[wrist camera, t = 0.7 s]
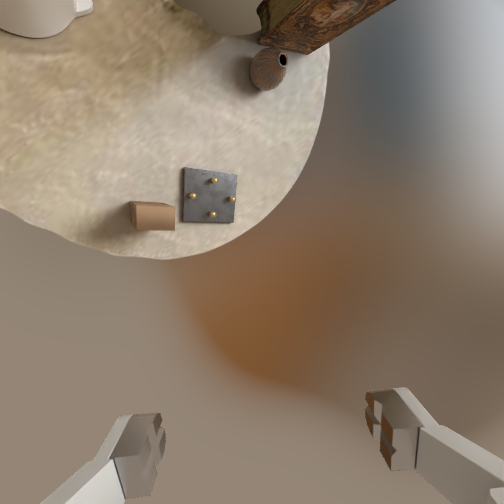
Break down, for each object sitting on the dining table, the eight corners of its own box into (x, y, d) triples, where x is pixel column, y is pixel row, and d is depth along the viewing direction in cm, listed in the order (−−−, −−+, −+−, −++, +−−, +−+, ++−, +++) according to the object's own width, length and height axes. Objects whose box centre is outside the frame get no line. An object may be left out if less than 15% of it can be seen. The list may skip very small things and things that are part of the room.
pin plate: (183, 167, 49) (188, 166, 46) (235, 175, 55) (241, 174, 53) (182, 220, 51) (186, 222, 49) (231, 221, 58) (237, 223, 55)
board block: (130, 200, 45) (136, 205, 37) (163, 202, 49) (175, 207, 40) (131, 221, 46) (136, 230, 38) (163, 222, 50) (174, 230, 41)
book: (312, 27, 56) (432, -62, 36) (312, 55, 58) (426, -14, 37) (253, 10, 48) (363, -115, 28) (255, 43, 50) (360, -52, 30)
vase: (241, 84, 51) (264, 68, 44) (249, 50, 50) (274, 28, 43) (266, 100, 55) (291, 88, 48) (274, 68, 54) (301, 51, 47)
